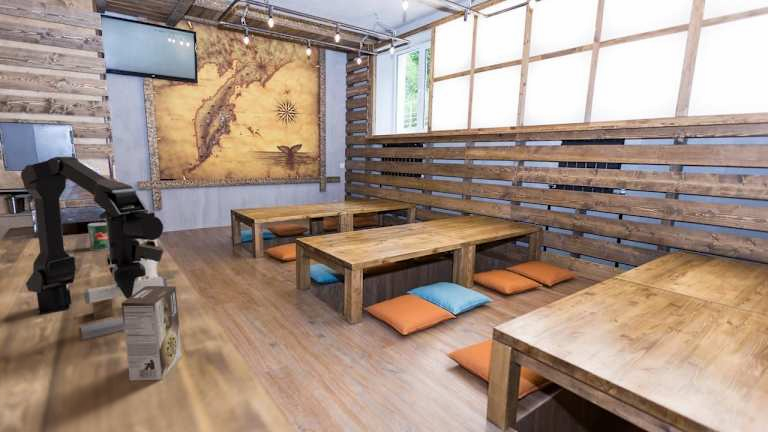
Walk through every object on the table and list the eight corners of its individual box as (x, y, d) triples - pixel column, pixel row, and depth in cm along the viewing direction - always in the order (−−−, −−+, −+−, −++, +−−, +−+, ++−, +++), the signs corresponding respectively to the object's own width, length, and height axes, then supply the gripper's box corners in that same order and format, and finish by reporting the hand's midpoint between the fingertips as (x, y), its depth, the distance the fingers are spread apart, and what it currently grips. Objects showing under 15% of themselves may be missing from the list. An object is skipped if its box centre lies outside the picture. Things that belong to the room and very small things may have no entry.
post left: (94, 319, 100) (92, 302, 99) (93, 312, 104) (91, 296, 104) (113, 315, 103) (111, 298, 102) (111, 309, 107) (109, 293, 106)
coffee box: (151, 356, 83) (145, 285, 80) (182, 355, 84) (177, 284, 81) (127, 381, 74) (119, 302, 71) (162, 380, 75) (155, 301, 72)
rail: (85, 303, 91) (84, 292, 91) (85, 300, 93) (83, 289, 93) (167, 288, 102) (166, 278, 102) (165, 285, 104) (164, 275, 104)
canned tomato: (103, 250, 166) (101, 225, 165) (85, 250, 167) (82, 225, 165) (116, 246, 174) (114, 222, 172) (99, 245, 174) (96, 222, 173)
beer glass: (149, 286, 124) (145, 241, 122) (131, 285, 126) (126, 240, 123) (165, 279, 131) (161, 237, 128) (148, 278, 132) (144, 235, 130)
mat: (82, 340, 89) (82, 338, 89) (81, 328, 95) (80, 326, 95) (177, 317, 102) (177, 316, 102) (170, 307, 108) (170, 306, 108)
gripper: (167, 239, 93) (171, 300, 96) (152, 226, 107) (156, 280, 110) (111, 245, 86) (118, 311, 89) (103, 231, 100) (109, 288, 103)
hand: (128, 296), depth 98 cm, fingers closed on rail, 3 cm apart
